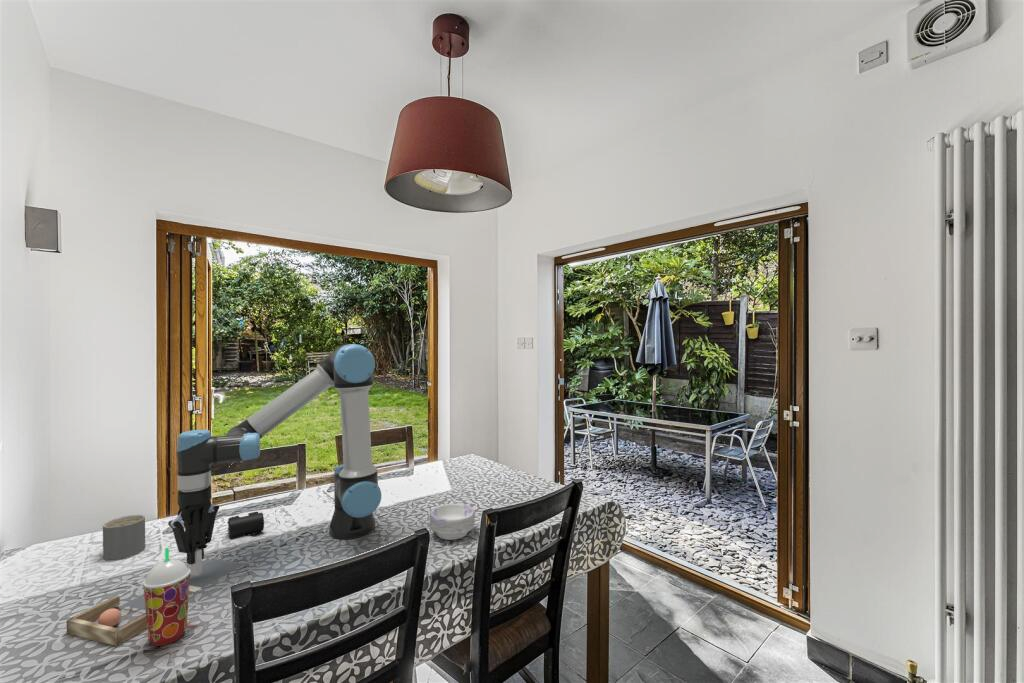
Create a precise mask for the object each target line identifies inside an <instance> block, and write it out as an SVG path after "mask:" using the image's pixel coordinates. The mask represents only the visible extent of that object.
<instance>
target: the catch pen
mask: <svg viewBox="0 0 1024 683" xmlns="http://www.w3.org/2000/svg"><path fill="white" fill-rule="evenodd" d="M120 600H121V599H120V595H115V596H112V597H110V598H108V599H107V600H105V601H102V602H101V603H99V604H97V605H95V606H93V607H90V608H87V609H86V610H85V611H82V612H80V613H78V614H76V615H73V616H72V617H70V618H68V619H67V620H66V634H67V633H68V634H67V635H71V634H72V635H71V636H75V635H77V636H76V637H79V636H80V638H83V637H84V638H83V639H87V640H91V641H95V642H98V643H103V644H107V645H110V644H111V645H110V646H114V645H116V646H115V647H118V646H121V643H122V644H123V643H126V640H127V641H128V640H130V639H132V638H133V637H135V636H137V635H138V634H140V633H142V632H143V631H145V630H148V629H147V618H146V614H144V613H143V615H141V616H139V617H137V618H136V619H133V620H132V621H130V622H129V623H127V624H124V625H123V626H120V627H119V628H118V627H114V626H113V627H109V626H105V625H101V624H98V622H97V623H95V622H96V621H98V619H99V617H100V615H101V614H102V613H103V612H105V611H106V610H108V609H118V610H120V607H118V606H119V605H120V604H121V603H120ZM131 637H132V638H131Z"/></svg>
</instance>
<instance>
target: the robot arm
mask: <svg viewBox="0 0 1024 683" xmlns="http://www.w3.org/2000/svg"><path fill="white" fill-rule="evenodd" d="M375 367H376V361H375V357H374V355H373V354H372V352H371V351H370V350H369V349H368V348H367V347H365V346H363V345H362V344H357V343H347V344H343V345H339V346H338V347H336V348H335V349H334V350H333V351H332V352H331V353H329V354H328V355H327V356H326V357H324V359H322V360H321V361H320V362H318V363H317V364H316V368H315V369H314V370H313V371H312V372H310V373H309V374H307V375H306V376H304V377H303V378H302V379H300V380H299V381H297V382H296V383H294V384H293V385H292V386H290V387H289V388H288V389H286V390H284V392H282V393H281V394H279V395H278V396H277V397H275V398H274V399H272V400H271V401H269V402H268V403H266V405H264V406H262V407H261V408H260V409H258V410H257V411H255V412H254V413H253V414H251V415H250V416H248V417H247V418H246V419H245V420H243V421H242V422H240V423H239V424H237V425H234V426H232V427H231V428H230V429H229V430H228V431H227V433H226V434H225V435H219V436H218V435H217V436H212V434H211V431H210V430H209V429H193V430H186V431H183V432H181V433H180V434H179V435H178V436H177V442H176V443H177V444H176V445H177V446H176V464H177V465H176V466H177V467H176V468H177V473H176V474H177V489H178V491H177V505H178V511H177V516H176V517H175V518H174V519H173V520H169V521H168V523H167V524H168V526H169V527H170V528H171V529H172V532H173V536H174V540H175V544H176V546H177V551H178V552H179V553H184V554H186V565H188V568H189V569H190V571H191V572H190V575H196V576H197V575H199V574H201V573H202V564H203V559H204V557H205V549H207V547H208V545H207V544H209V543H211V542H212V538H213V533H214V527H215V524H216V523H215V522H216V517H217V513H218V512H219V510H220V505H218V504H217V505H216V504H212V501H211V499H212V486H211V485H212V465H215V464H225V463H234V462H242V461H243V462H247V461H250V460H256V459H258V458H259V457H260V455H261V439H262V438H263V437H265V436H266V435H268V434H269V433H270V432H272V431H273V430H274V429H276V428H277V427H278V426H279V425H280V424H282V423H283V422H285V421H286V420H287V419H289V418H290V417H291V416H293V415H295V414H296V413H297V412H298V411H300V410H302V409H303V408H304V407H305V406H307V405H308V404H309V403H311V402H312V401H314V399H316V398H317V397H319V396H320V395H322V394H323V393H324V392H325V391H327V390H328V389H329V388H331V387H333V388H334V389H335V390H336V391H337V392H338V393H339V398H340V399H339V401H340V402H339V403H340V405H339V406H340V420H341V421H340V422H341V423H340V424H341V440H342V442H341V443H342V459H343V463H342V464H339V465H336V466H335V467H334V469H333V470H334V472H333V480H334V481H333V483H334V489H333V490H334V491H333V492H334V496H333V498H334V499H333V500H334V511H333V514H332V517H331V520H330V524H329V526H328V530H329V531H328V532H329V533H328V535H329V536H330V537H331V538H333V539H339V540H352V539H356V538H357V539H358V538H361V537H363V536H364V537H365V536H367V535H369V534H371V533H372V532H374V530H375V529H376V518H375V516H374V512H375V511H376V510H377V509H378V507H380V504H381V501H382V491H381V488H380V486H379V476H378V468H377V467H376V466H375V465H374V464H373V460H372V459H373V458H372V457H373V455H372V439H371V438H372V437H371V419H370V418H371V417H370V400H369V394H370V393H369V391H370V390H371V389H372V387H373V386H374V382H373V381H374V380H373V373H374V370H375Z"/></svg>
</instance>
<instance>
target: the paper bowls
mask: <svg viewBox="0 0 1024 683" xmlns="http://www.w3.org/2000/svg"><path fill="white" fill-rule="evenodd" d="M475 511H476V510H475V509H474V508H473V507H472V506H470V505H467V504H465V503H464V504H463V503H445V504H441V505H438V506H435V507H433V508H432V509H431V510H430V512H429V527H430V530H431V531H432V532H434V533H436V535H437V537H439V538H440V539H442V540H446V541H455V540H460V539H462V538H464V537H465V536H467V534H468V533H469V532H470V531H471V530H473V529H474V527H475V524H476V523H475V522H476V512H475Z"/></svg>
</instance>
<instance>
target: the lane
mask: <svg viewBox="0 0 1024 683" xmlns="http://www.w3.org/2000/svg"><path fill="white" fill-rule="evenodd" d="M243 565H245V563H242V562H238V561H237V562H236V561H230V560H224V559H218V558H214V557H212V558H211V559H209V560H207V561H205V562H202V573H201V574H199V575H197V576H196V575H190V583H189V596H191V595H193V594H194V593H196V592H198V591H199V590H202V589H203V588H204V587H206V586H208V585H209V584H212V583H213V582H215V581H217V580H219V579H220V578H222V577H224V576H226V575H227V574H230V573H231V572H233V571H234V570H236V569H238V568H240V567H241V566H243ZM122 606H125V607H131V608H136V609H139V610H142V611H143V610H144V611H146V607H145V597H144V593H143V594H141V595H139V596H137V597H135V598H133V599H131V600H129V601H127V602H125V603H123V604H122ZM125 610H127V611H129V612H130V611H131V612H133V610H132V609H127V608H125ZM134 612H136V613H140V614H142V612H140V611H135V610H134ZM144 614H146V612H143V615H144Z"/></svg>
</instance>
